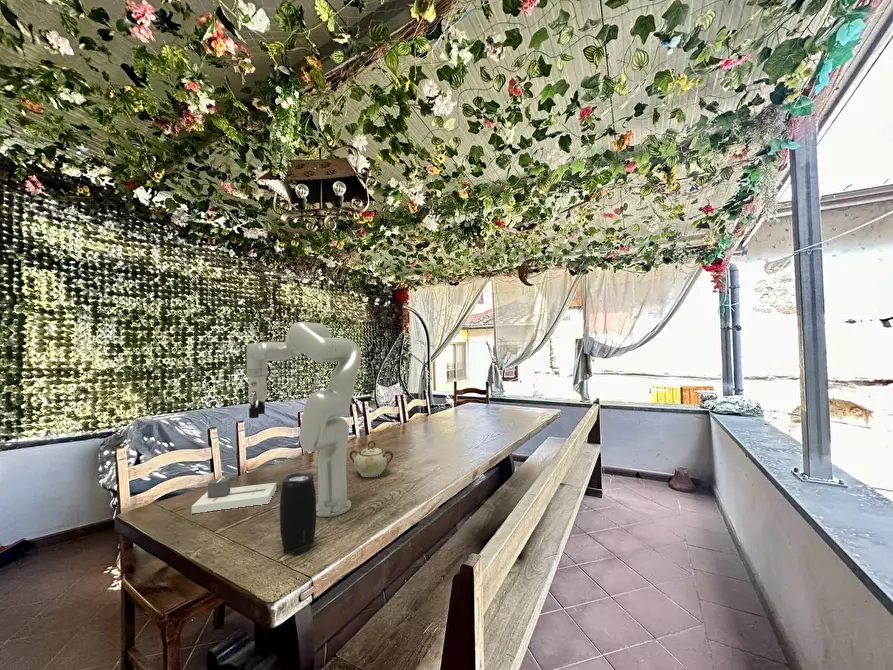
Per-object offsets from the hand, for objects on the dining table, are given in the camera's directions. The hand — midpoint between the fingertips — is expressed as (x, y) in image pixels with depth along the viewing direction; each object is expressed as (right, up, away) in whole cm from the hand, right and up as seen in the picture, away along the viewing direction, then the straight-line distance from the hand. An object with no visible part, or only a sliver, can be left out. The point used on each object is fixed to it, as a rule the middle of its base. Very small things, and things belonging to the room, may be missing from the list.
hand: (257, 415), depth 136 cm
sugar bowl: (+43, -30, +14) cm, 55 cm away
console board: (-2, -30, -10) cm, 31 cm away
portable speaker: (+35, -27, -42) cm, 61 cm away
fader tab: (-8, -27, -11) cm, 30 cm away
